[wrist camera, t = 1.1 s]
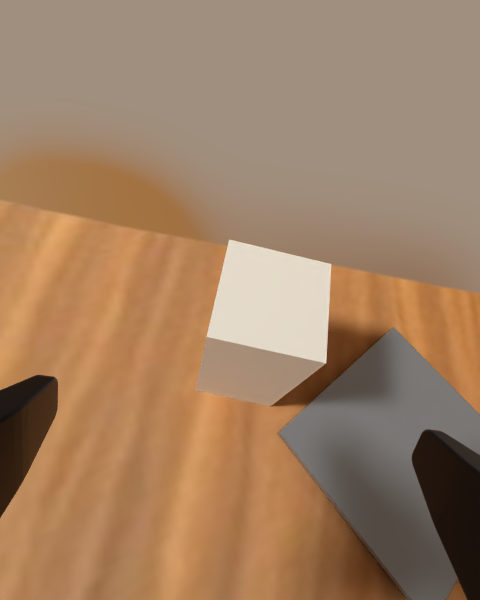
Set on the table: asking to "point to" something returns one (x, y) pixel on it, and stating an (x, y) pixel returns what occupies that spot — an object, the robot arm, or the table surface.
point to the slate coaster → (385, 457)
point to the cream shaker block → (265, 325)
